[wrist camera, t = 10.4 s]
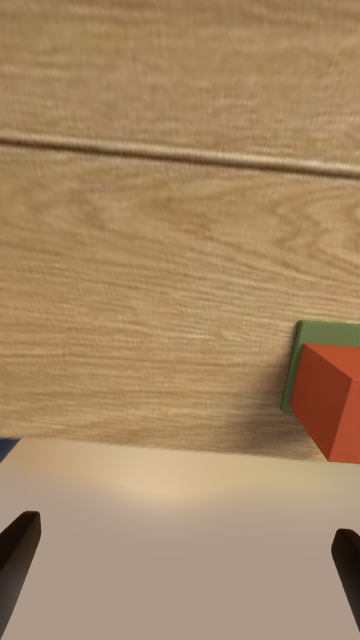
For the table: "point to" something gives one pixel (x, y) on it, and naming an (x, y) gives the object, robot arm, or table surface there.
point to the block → (330, 399)
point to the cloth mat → (317, 335)
